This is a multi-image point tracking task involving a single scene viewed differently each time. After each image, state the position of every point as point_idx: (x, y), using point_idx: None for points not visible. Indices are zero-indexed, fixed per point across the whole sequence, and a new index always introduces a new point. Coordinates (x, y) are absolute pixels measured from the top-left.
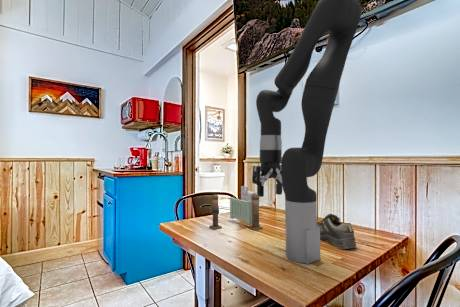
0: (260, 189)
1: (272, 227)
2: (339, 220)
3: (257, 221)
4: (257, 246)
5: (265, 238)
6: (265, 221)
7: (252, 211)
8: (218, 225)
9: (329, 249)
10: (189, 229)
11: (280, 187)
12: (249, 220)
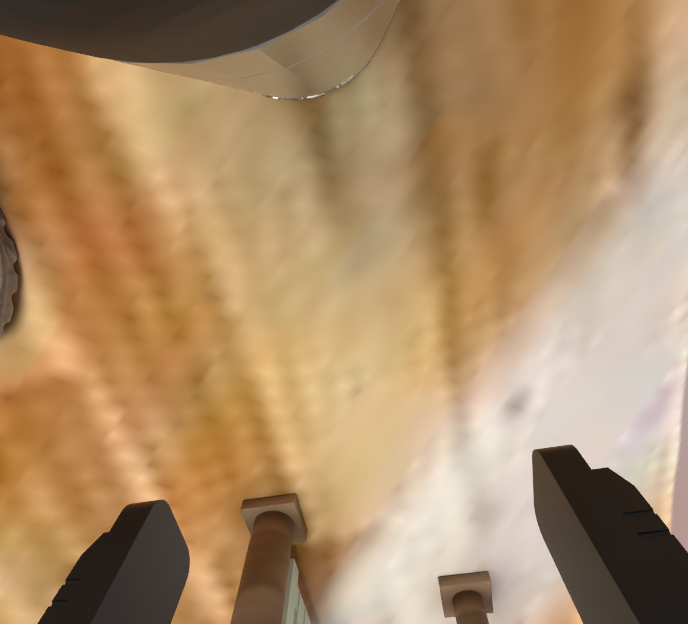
0: (670, 559)
1: (173, 501)
2: None
3: (265, 542)
4: (430, 277)
5: (312, 368)
6: None
7: (281, 618)
8: (446, 603)
9: None
10: None
11: (94, 611)
12: (290, 580)
